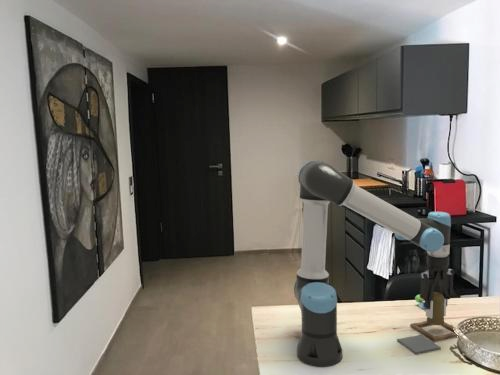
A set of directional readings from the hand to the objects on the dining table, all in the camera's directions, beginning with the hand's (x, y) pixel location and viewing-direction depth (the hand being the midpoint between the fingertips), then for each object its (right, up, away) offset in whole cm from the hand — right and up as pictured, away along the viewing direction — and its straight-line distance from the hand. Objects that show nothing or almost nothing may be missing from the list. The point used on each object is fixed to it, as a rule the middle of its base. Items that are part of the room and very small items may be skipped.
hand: (435, 315), depth 162 cm
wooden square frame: (+1, -6, +1) cm, 6 cm away
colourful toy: (+4, -3, +22) cm, 23 cm away
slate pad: (-10, -8, -9) cm, 16 cm away
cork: (0, -3, 0) cm, 2 cm away
